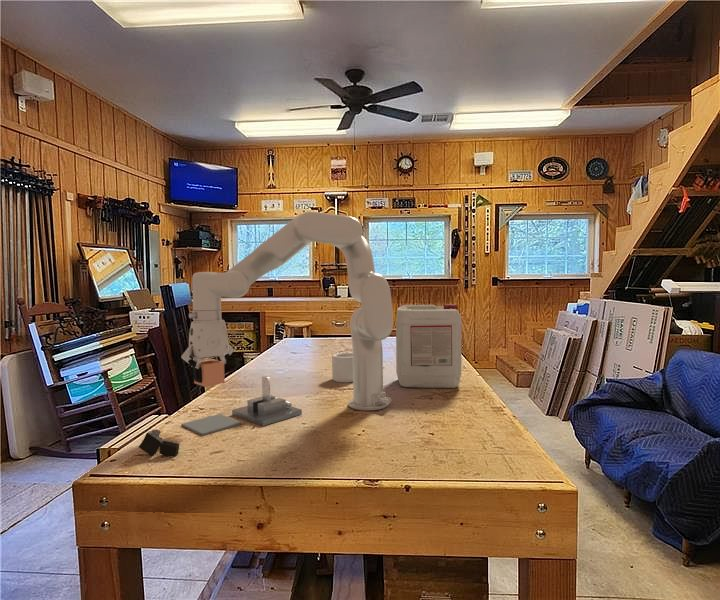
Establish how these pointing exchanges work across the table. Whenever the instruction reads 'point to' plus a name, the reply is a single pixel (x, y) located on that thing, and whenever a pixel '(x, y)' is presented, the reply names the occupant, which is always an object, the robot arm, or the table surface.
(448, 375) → the jerry can
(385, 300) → the robot arm
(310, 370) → the table surface
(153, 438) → the lighter
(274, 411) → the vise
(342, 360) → the mug
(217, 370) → the collar
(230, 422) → the mat
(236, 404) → the table surface
